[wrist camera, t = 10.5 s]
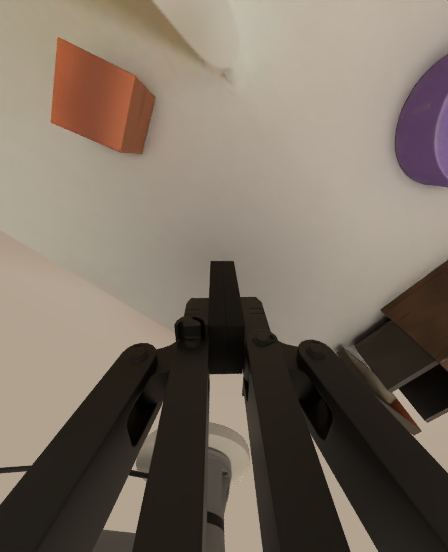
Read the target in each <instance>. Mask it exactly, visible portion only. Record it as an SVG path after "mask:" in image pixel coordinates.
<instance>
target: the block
mask: <svg viewBox="0 0 448 552" xmlns="http://www.w3.org/2000/svg"><path fill="white" fill-rule="evenodd" d="M154 100H155V96H154V95H153V94H152V93H151V92H150V91H149V90H148V89H147V88H146V87H145V86H144V85H143V83H142V82H141V81H140V80H139V79H138V78H137V77H136V76H135V75H133V74H131V73H129V72H127V71H125V70H123V69H121V68H119V67H117V66H115V65H113V64H111V63H109V62H107V61H105V60H103V59H101V58H99V57H97V56H95V55H93V54H91V53H89V52H87V51H85V50H83V49H81V48H79V47H77V46H75V45H73V44H71V43H69V42H67V41H65V40H63V39H61V38H59V37H58V40H57V52H56V64H55V76H54V89H53V101H52V113H51V123H53V124H56V125H58V126H60V127H63V128H65V129H67V130H70V131H72V132H74V133H77V134H79V135H81V136H84V137H86V138H88V139H91V140H93V141H95V142H98V143H100V144H102V145H105V146H107V147H109V148H112V149H114V150H116V151H119V152H125V153H136V154H142V152H143V147H144V143H145V139H146V135H147V130H148V126H149V122H150V117H151V113H152V109H153V105H154Z"/></svg>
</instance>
